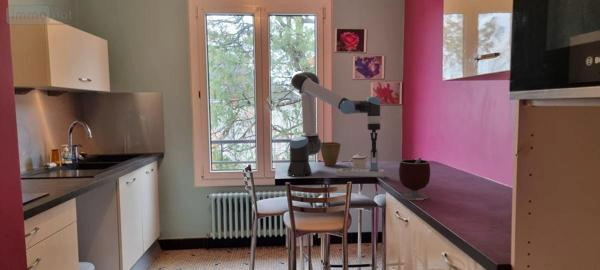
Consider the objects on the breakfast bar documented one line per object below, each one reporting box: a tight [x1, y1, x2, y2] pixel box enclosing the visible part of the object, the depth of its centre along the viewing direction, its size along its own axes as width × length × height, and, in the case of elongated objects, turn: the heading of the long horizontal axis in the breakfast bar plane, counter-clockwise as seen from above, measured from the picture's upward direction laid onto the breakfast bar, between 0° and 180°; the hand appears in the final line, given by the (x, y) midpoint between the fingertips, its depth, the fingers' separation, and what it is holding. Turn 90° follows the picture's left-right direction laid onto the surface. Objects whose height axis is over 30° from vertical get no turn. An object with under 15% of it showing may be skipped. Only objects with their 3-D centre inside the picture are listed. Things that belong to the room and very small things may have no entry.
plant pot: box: [320, 141, 342, 167], centre depth 269 cm, size 15×15×16 cm
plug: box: [370, 148, 379, 170], centre depth 223 cm, size 4×4×13 cm
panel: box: [335, 167, 385, 180], centre depth 226 cm, size 28×9×4 cm, turn 78°
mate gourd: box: [398, 157, 431, 201], centre depth 173 cm, size 16×14×20 cm
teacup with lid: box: [347, 152, 367, 169], centre depth 246 cm, size 12×9×12 cm
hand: (374, 162), depth 224 cm, fingers closed on plug, 4 cm apart
